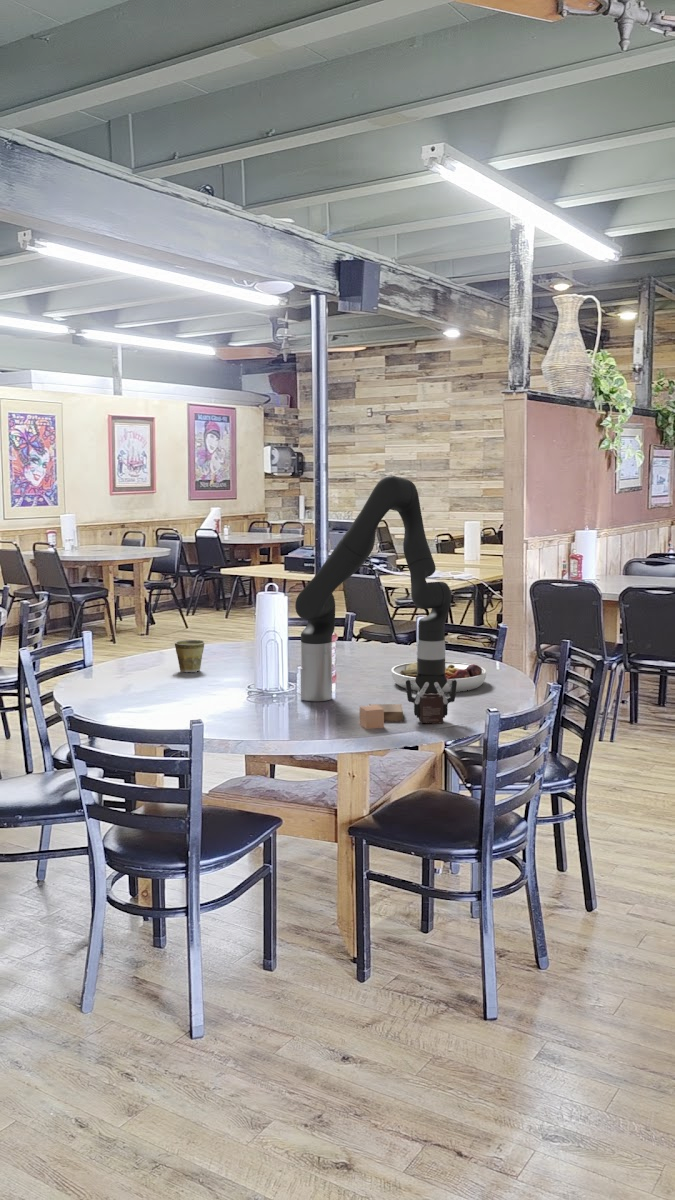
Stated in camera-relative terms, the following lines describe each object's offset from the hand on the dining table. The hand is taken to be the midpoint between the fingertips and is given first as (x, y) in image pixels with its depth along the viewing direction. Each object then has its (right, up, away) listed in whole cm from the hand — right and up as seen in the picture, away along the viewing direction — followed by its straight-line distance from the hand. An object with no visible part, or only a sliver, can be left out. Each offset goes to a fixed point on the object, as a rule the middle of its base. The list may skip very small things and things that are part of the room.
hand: (430, 716), depth 272 cm
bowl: (+7, +4, +49) cm, 49 cm away
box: (0, -1, 0) cm, 1 cm away
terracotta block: (-16, -2, -4) cm, 17 cm away
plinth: (-12, -1, +5) cm, 13 cm away
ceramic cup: (-76, +7, +73) cm, 105 cm away
